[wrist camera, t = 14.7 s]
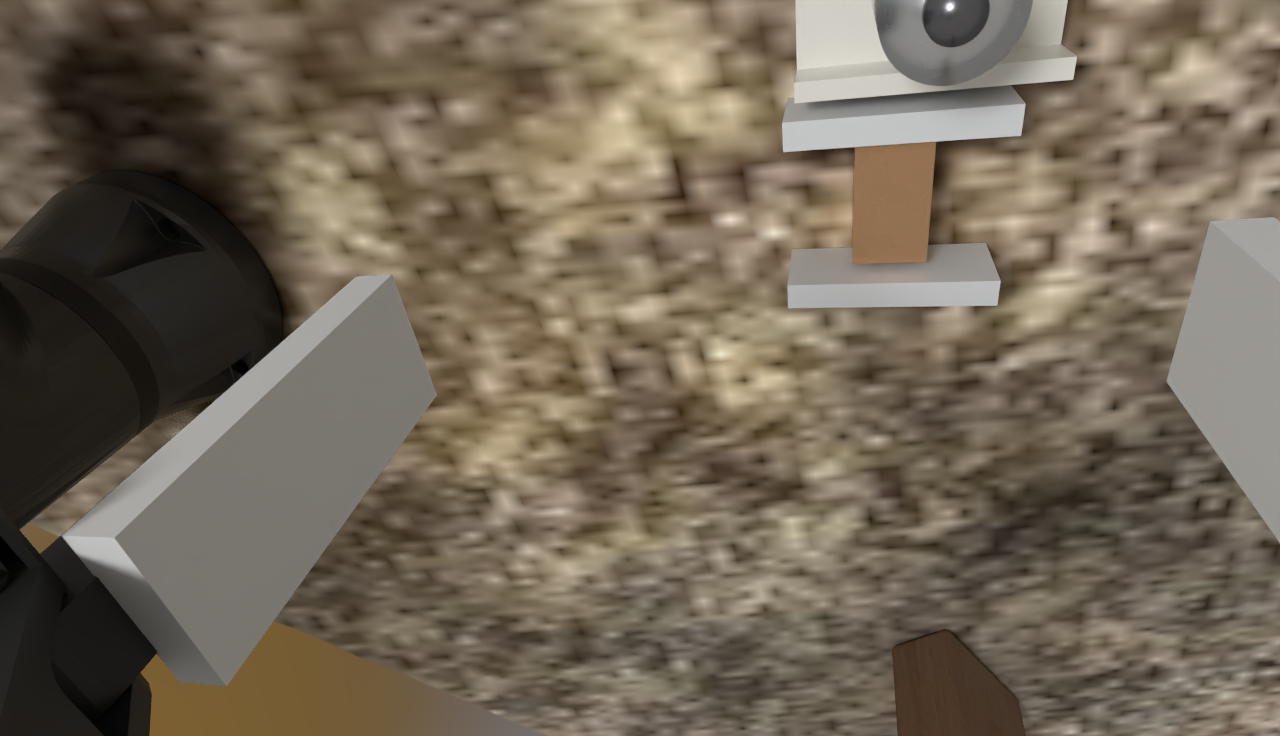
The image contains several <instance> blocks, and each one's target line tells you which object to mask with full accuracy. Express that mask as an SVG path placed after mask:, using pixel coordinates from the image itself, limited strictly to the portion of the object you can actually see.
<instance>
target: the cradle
mask: <svg viewBox="0 0 1280 736" xmlns="http://www.w3.org/2000/svg"><path fill="white" fill-rule="evenodd" d="M1025 105H1026V103H1025V102H1024V101H1023V100H1022V98H1021V97H1020V96H1019V95H1018V93H1017V92H1016V91H1015V90H1014V88H1013V87H1012V86H1011V85H1005V86H993V87H982V88H970V89H958V90H946V91H934V92H923V93H911V94H899V95H887V96H875V97H864V98H852V99H840V100H828V101H817V102H805V103H794V98H788V101H787V105H786V109H785V113H784V118H783V122H782V130H783V152H790V151H805V150H819V149H834V148H849V147H863V146H878V145H893V144H908V143H922V142H937V141H952V140H966V139H981V138H996V137H1011V136H1021V134H1022V127H1023V119H1024V112H1025ZM1000 283H1001V280H1000V278H999V275H998V273H997V270H996V268H995V265H994V262H993V260H992V257H991V255H990V252H989V250H988V247H987V245H986V243H967V244H937V245H928V250H927V262H907V263H871V264H853V258H852V247H847V248H817V249H792V255H791V262H790V270H789V278H788V285H787V286H788V308H845V307H924V306H997V304H998V297H999V290H1000Z"/></svg>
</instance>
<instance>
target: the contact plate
mask: <svg viewBox="0 0 1280 736" xmlns="http://www.w3.org/2000/svg"><path fill="white" fill-rule="evenodd" d="M935 150H936V142H922V143H908V144H893V145H878V146H863V147H854V168H853V219H852V258H853V264H871V263H907V262H927V250H928V238H929V225H930V213H931V200H932V188H933V175H934V163H935Z"/></svg>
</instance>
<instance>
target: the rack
mask: <svg viewBox="0 0 1280 736" xmlns="http://www.w3.org/2000/svg"><path fill="white" fill-rule="evenodd" d="M1067 3H1068V0H1033V4H1032V9H1031V13H1030V16H1029V19H1028V22H1027V25H1026V27H1025V29H1024V31H1023V33H1022V35H1021V37H1020V38H1019V40H1018V41H1017V43H1016V44H1015V46H1014V47H1013V48H1012V50H1011V51H1010V52H1009V53H1008V54H1007V55H1006V56H1005V57H1004V58H1003V59H1002V60H1001V61H1000V62H999V63H998V64H997V65H995V66H994V67H993V68H992V69H990V70H989V71H987V72H985V73H984V74H982V75H980V76H978V77H976V78H974V79H972V80H969V81H966V82H964V83H960V84H956V85H949V86H932V85H925V84H922V83H919V82H916V81H914V80H911V79H909V78H908V77H906V76H904V75H903V74H901V73H900V72H899V71H898V70H897V69H896V68H895V67H894V66H893V65H892V64H891V62H890V61H889V60H888V58H887V56H886V55H885V53H884V51H883V48H882V46H881V43H880V39H879V35H878V31H877V26H876V22H875V18H874V13H873V9H872V5H871V0H796V45H797V72H796V76H795V81H794V103H805V102H817V101H828V100H840V99H852V98H864V97H875V96H887V95H899V94H911V93H923V92H934V91H946V90H958V89H970V88H982V87H993V86H1005V85H1017V84H1029V83H1041V82H1052V81H1064V80H1073V78H1074V72H1075V66H1076V60H1077V56H1076V55H1075V54H1073V53H1072V52H1071V51H1069V50H1068V49H1067V48H1065V47H1064V46H1063V45H1062V44H1061V40H1062V34H1063V28H1064V22H1065V15H1066V9H1067Z"/></svg>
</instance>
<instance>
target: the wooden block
mask: <svg viewBox="0 0 1280 736" xmlns="http://www.w3.org/2000/svg"><path fill="white" fill-rule="evenodd" d="M892 655H893V670H894V685H895V700H896V715H897V731H898V736H1026V735H1025V730H1024V725H1023V721H1022V716H1021V712H1020V707H1019V702H1018V701H1017V699H1016V698H1015V697H1014V696H1013V695H1012V694H1011V693H1010V692H1009V691H1008V690H1007V689H1006V688H1005V687H1004V686H1003V685H1002V684H1001V683H1000V682H999V681H998V680H997V679H996V678H995V677H994V676H993V675H992V674H991V673H990V672H989V671H988V670H987V669H986V668H985V667H984V666H983V665H982V664H981V663H980V662H979V661H978V660H977V659H976V658H975V657H974V656H973V655H972V654H971V653H970V652H969V651H968V650H967V649H966V648H965V647H964V646H963V645H962V644H961V643H960V641H959V640H958V639H957V638H956V637H955V636H954V635H953V634H952V633H951V632H950V631H947V630H943V631H940V632H937V633H934V634H931V635H928V636H925V637H922V638H919V639H916V640H913V641H910V642H907V643H904V644H901V645H898V646H895V647H894V648H893V650H892Z"/></svg>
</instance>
